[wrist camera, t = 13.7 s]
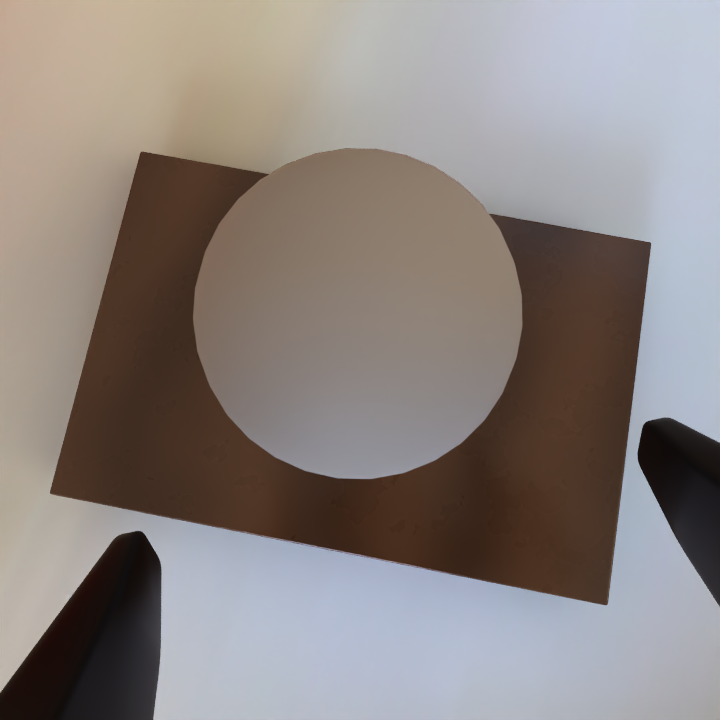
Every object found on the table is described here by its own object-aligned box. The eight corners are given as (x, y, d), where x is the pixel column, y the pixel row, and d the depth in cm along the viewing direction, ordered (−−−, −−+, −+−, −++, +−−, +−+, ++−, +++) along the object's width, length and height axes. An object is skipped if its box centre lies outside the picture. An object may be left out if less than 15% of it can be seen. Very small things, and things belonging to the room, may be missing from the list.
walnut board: (625, 260, 22) (652, 242, 20) (583, 590, 20) (608, 606, 18) (160, 177, 22) (140, 150, 20) (79, 489, 20) (48, 493, 18)
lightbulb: (374, 246, 20) (391, -6, 9) (490, 386, 19) (666, 303, 8) (230, 355, 19) (53, 232, 8) (343, 504, 18) (316, 589, 7)
